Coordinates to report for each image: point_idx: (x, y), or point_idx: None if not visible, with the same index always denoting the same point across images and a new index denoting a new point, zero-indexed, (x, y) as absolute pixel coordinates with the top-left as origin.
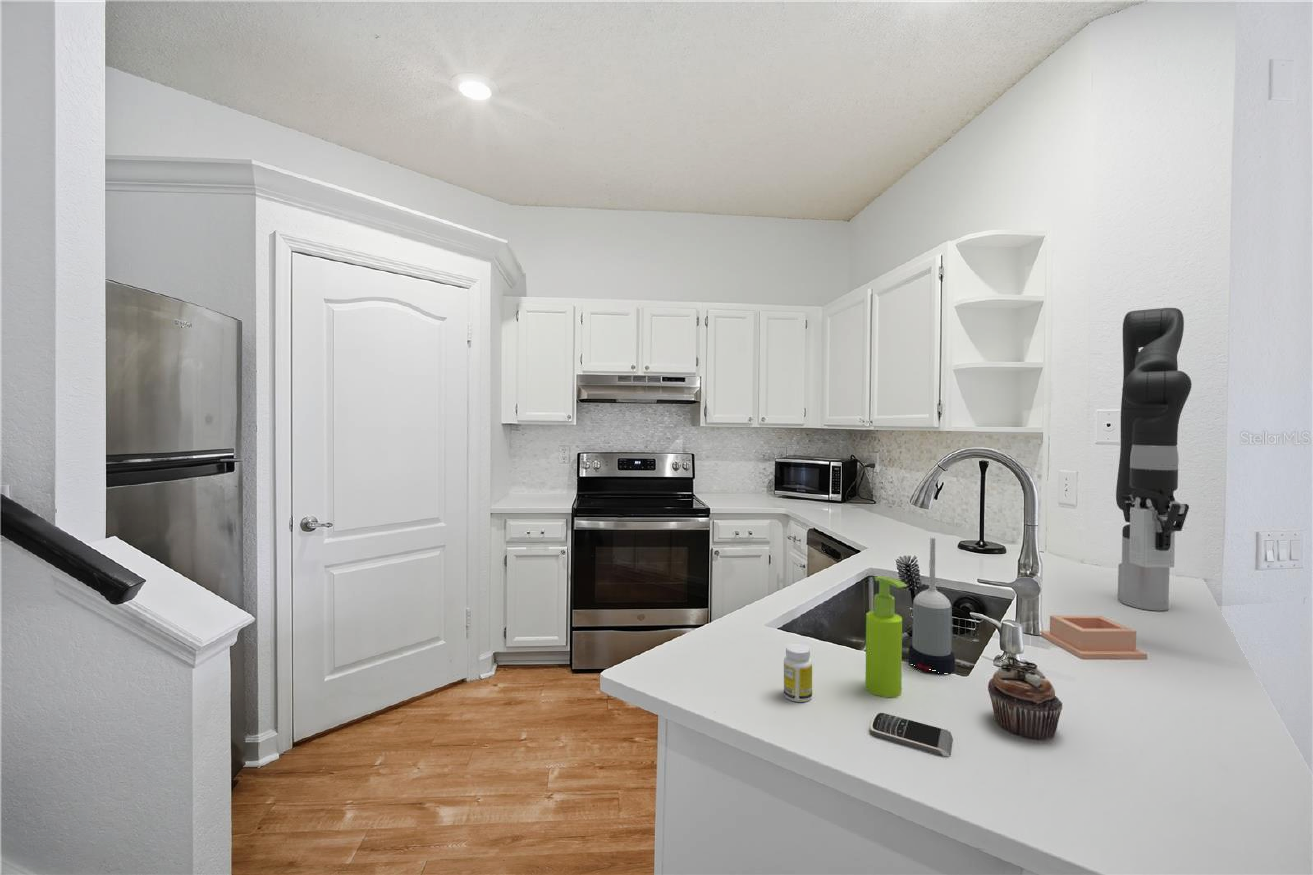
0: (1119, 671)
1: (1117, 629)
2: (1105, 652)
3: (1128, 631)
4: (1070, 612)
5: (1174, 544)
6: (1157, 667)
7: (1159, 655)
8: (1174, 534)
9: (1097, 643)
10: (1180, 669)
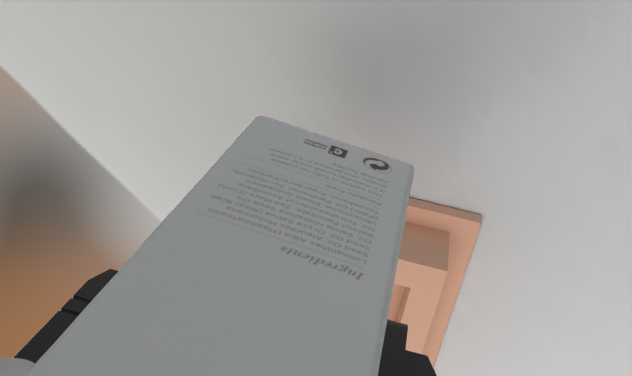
0: (521, 373)
1: (414, 313)
2: (432, 329)
3: (439, 296)
4: (40, 30)
5: (392, 273)
6: (539, 249)
7: (469, 139)
8: (378, 357)
9: None
10: (577, 196)
